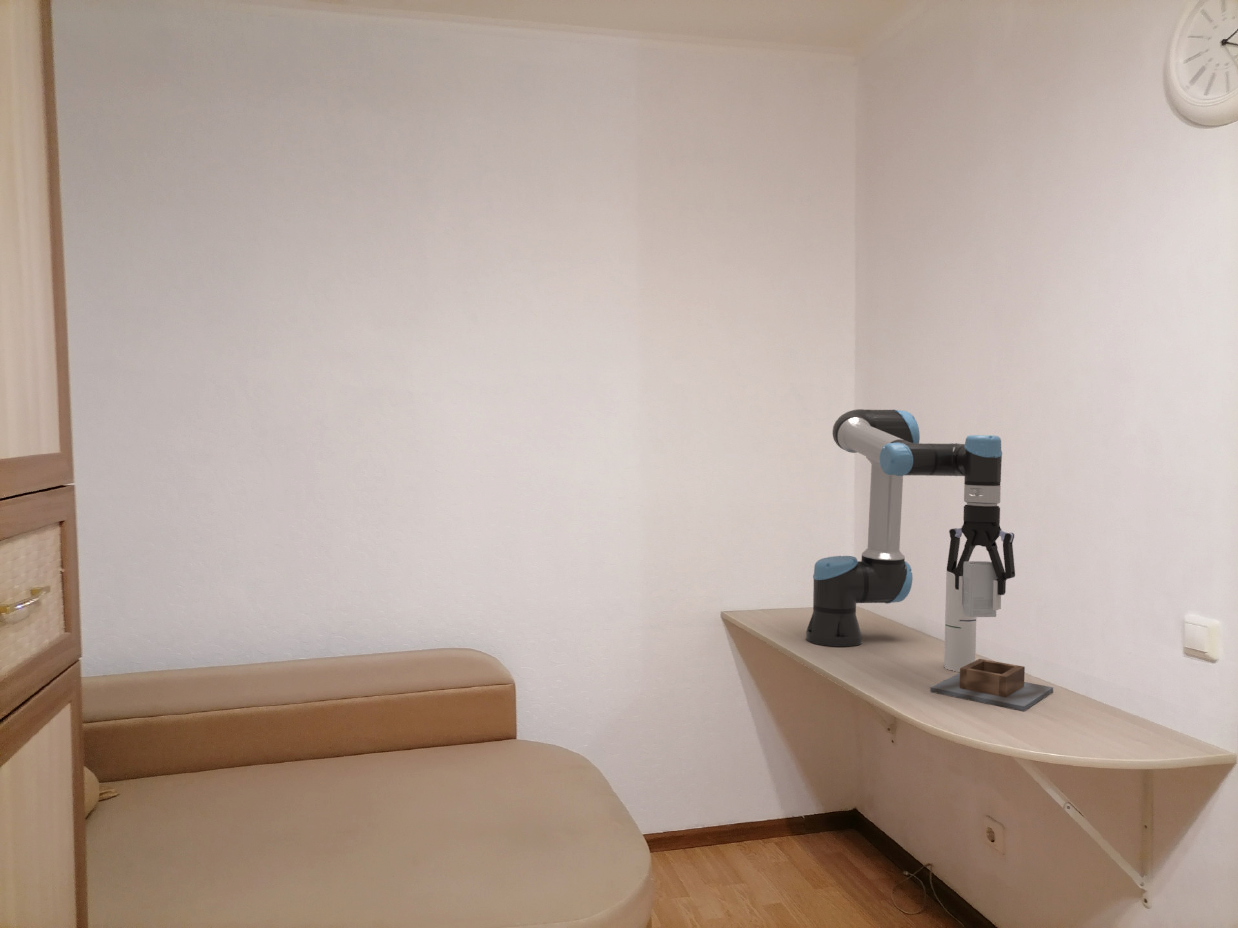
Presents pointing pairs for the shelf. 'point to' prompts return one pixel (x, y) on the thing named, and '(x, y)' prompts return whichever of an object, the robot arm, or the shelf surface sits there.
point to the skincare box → (978, 589)
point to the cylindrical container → (957, 630)
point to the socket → (993, 685)
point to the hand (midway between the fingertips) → (979, 606)
